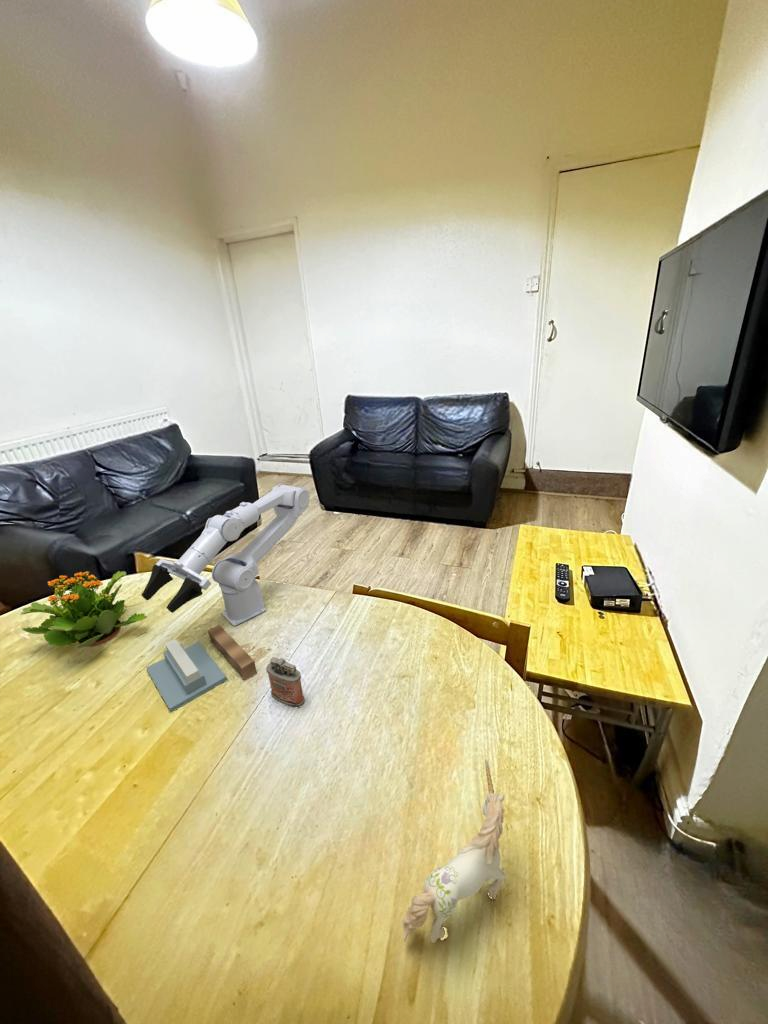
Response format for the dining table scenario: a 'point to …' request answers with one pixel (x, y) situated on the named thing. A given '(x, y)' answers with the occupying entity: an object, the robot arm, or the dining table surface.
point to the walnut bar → (232, 652)
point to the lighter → (285, 682)
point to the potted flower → (81, 612)
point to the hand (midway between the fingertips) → (156, 604)
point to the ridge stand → (184, 674)
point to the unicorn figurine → (462, 872)
